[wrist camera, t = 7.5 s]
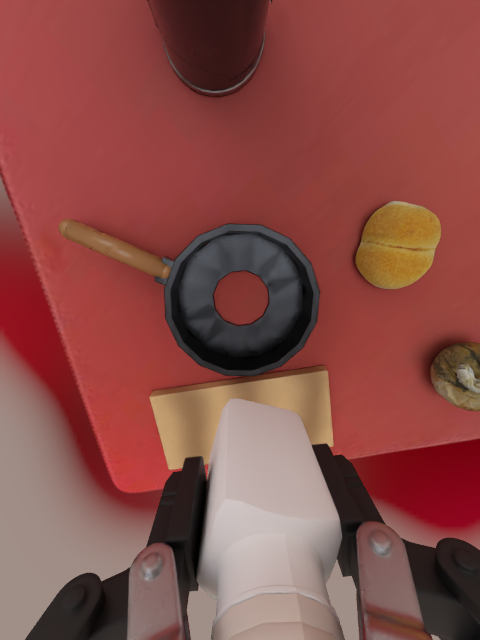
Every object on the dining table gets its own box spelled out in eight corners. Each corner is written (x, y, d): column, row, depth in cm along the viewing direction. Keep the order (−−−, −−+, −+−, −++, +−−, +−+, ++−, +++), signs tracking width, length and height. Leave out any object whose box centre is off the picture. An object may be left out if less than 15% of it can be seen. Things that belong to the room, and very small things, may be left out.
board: (171, 461, 37) (168, 470, 36) (152, 390, 35) (149, 397, 33) (329, 438, 37) (333, 446, 35) (323, 365, 34) (327, 370, 33)
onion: (417, 397, 36) (468, 438, 28) (417, 341, 34) (472, 368, 26) (475, 387, 35) (543, 426, 28) (478, 330, 33) (552, 354, 26)
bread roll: (345, 281, 31) (361, 285, 28) (368, 199, 29) (388, 191, 25) (412, 293, 32) (436, 299, 28) (439, 213, 30) (470, 208, 26)
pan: (332, 263, 31) (347, 265, 27) (272, 378, 34) (277, 396, 30) (100, 153, 28) (77, 136, 24) (60, 293, 31) (34, 300, 27)
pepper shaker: (208, 455, 15) (163, 812, 5) (226, 390, 14) (209, 687, 4) (279, 470, 15) (353, 830, 6) (302, 408, 14) (435, 717, 5)
